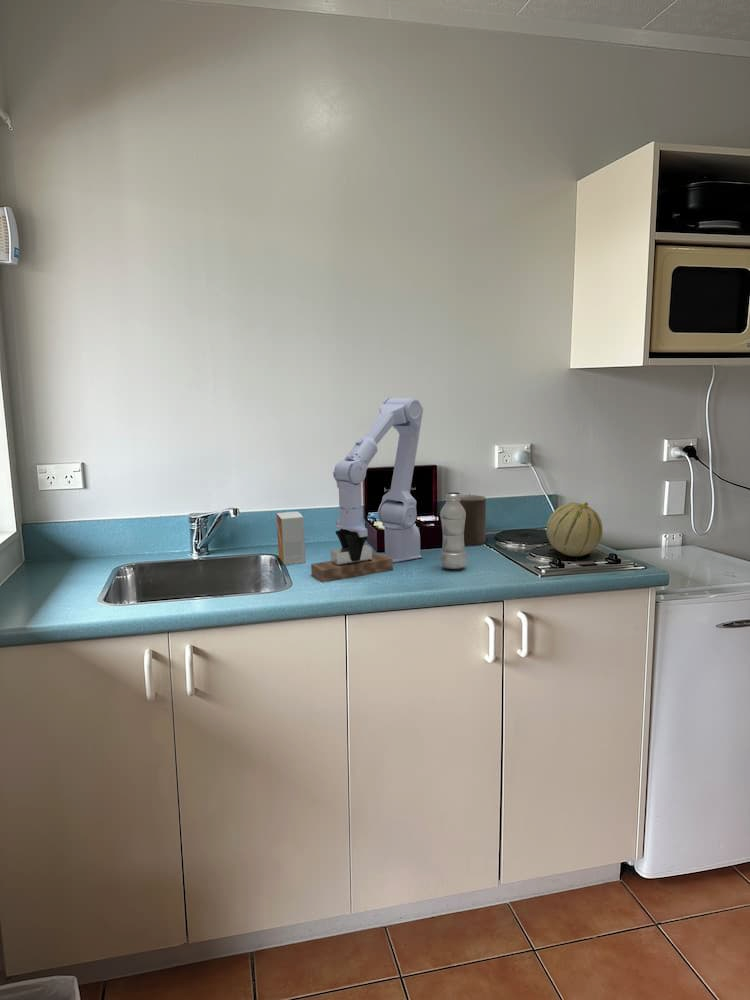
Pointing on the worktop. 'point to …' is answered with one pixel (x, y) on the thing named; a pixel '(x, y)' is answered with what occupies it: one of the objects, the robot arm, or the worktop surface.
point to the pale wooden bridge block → (343, 555)
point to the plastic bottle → (453, 532)
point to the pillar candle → (474, 519)
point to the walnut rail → (351, 568)
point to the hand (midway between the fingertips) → (352, 558)
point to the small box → (291, 538)
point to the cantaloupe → (574, 529)
